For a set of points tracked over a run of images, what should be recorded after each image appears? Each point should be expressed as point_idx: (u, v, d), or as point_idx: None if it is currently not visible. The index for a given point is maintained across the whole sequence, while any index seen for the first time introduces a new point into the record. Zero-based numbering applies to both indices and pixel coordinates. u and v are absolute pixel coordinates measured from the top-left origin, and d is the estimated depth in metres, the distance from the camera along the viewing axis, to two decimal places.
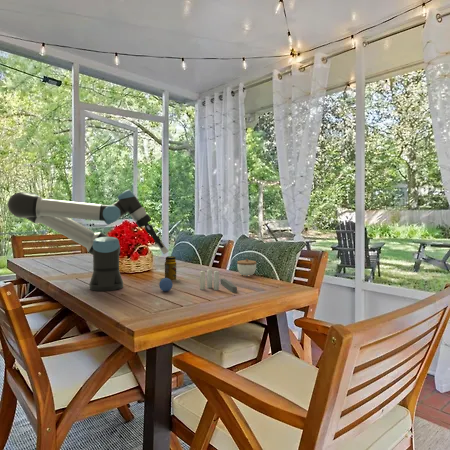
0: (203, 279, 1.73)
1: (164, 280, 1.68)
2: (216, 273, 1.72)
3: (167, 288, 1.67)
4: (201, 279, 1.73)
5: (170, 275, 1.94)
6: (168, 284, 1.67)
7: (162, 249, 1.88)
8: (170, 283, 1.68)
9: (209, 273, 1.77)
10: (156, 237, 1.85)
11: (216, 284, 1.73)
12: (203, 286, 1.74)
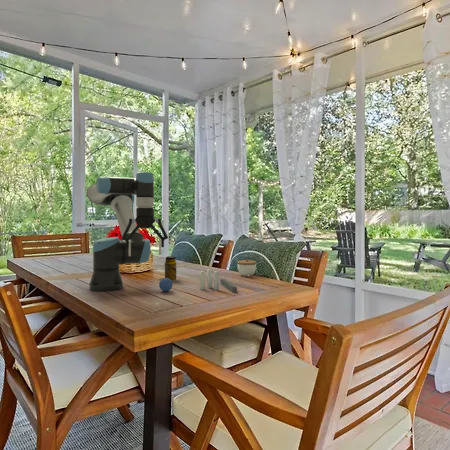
0: (203, 279, 1.73)
1: (164, 280, 1.68)
2: (216, 273, 1.72)
3: (167, 288, 1.67)
4: (201, 279, 1.73)
5: (170, 275, 1.94)
6: (168, 284, 1.67)
7: None
8: (170, 283, 1.68)
9: (209, 273, 1.77)
10: (123, 234, 1.63)
11: (216, 284, 1.73)
12: (203, 286, 1.74)
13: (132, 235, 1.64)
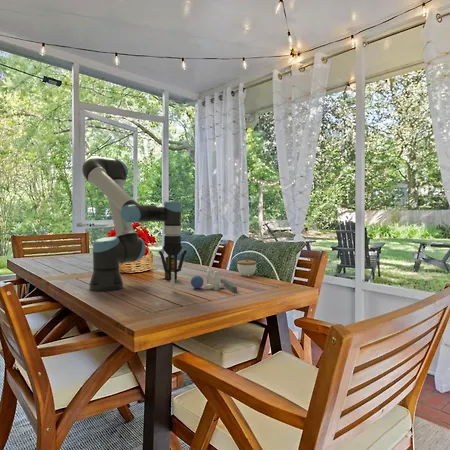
0: None
1: (194, 282, 1.74)
2: (216, 273, 1.72)
3: (201, 279, 1.75)
4: None
5: None
6: (198, 278, 1.74)
7: (170, 281, 1.71)
8: (197, 276, 1.75)
9: (209, 273, 1.77)
10: (163, 267, 1.69)
11: (216, 284, 1.73)
12: (209, 287, 1.74)
13: None
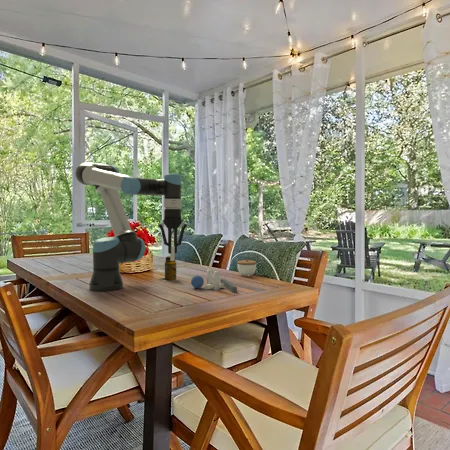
0: None
1: (194, 281, 1.74)
2: (216, 273, 1.72)
3: (202, 279, 1.75)
4: None
5: (170, 275, 1.94)
6: (198, 278, 1.75)
7: None
8: (197, 276, 1.76)
9: (209, 273, 1.77)
10: (163, 240, 1.68)
11: (216, 284, 1.73)
12: (209, 287, 1.74)
13: None
